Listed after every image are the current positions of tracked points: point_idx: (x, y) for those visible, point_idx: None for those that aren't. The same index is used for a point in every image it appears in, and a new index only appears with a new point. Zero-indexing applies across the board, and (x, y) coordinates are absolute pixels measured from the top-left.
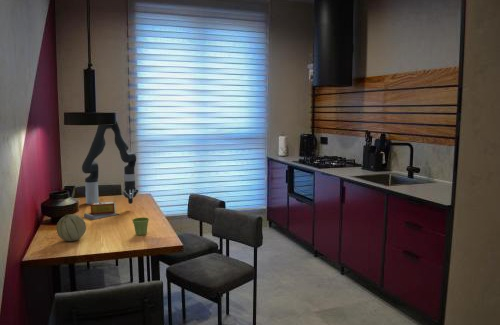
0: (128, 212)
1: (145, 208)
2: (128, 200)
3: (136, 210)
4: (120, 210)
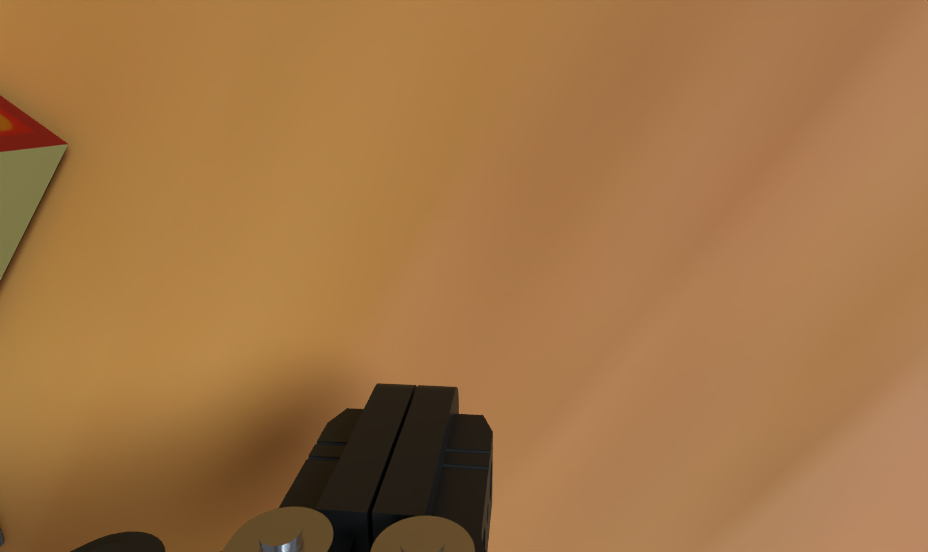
0: None
1: (782, 529)
2: (301, 488)
3: None
4: (186, 213)
